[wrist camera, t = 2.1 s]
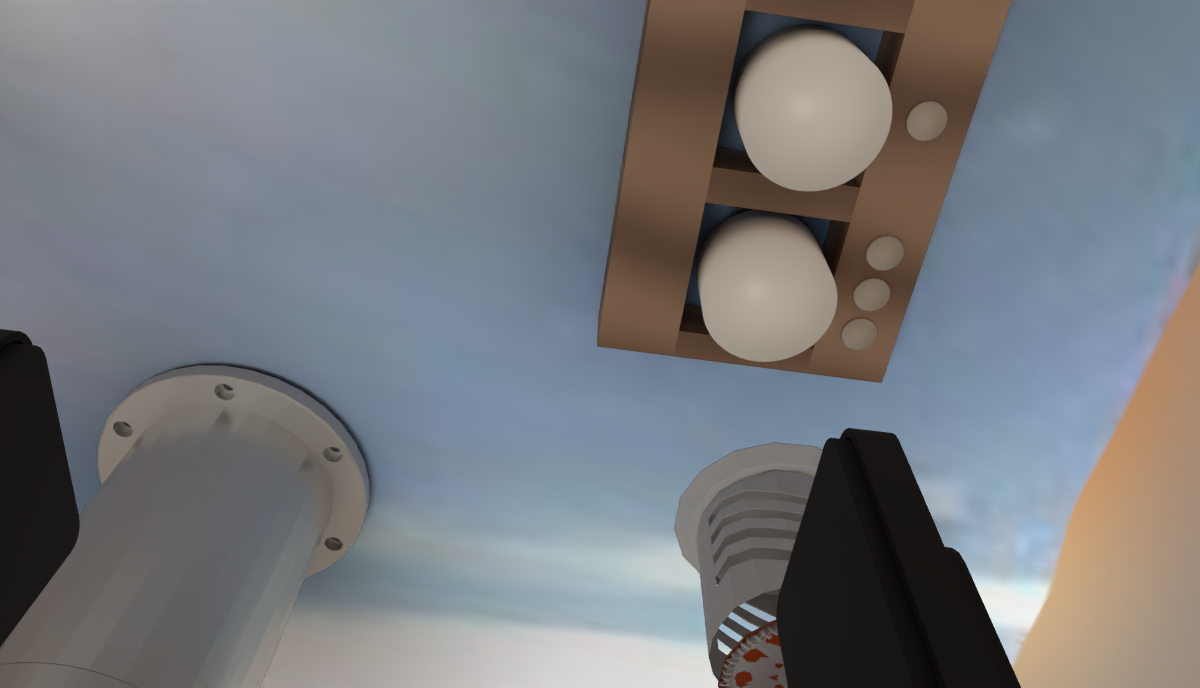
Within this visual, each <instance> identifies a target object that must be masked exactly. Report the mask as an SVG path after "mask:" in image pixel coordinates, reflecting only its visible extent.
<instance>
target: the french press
mask: <svg viewBox="0 0 1200 688" xmlns="http://www.w3.org/2000/svg"><path fill="white" fill-rule="evenodd" d="M822 451H823V450H821V449H819V448H817V447H812V446H803V445H794V444H785V443H776V442H775V443H770V444H765V445H760V446H756V447H751V448H746V449H741V450H737V451H734V452H732V453H730V454H729V455H727V456H725V457H724V458H722V459H720V460H719V461H717V462H715V463H713V464H712V465H710V466H708V467H707V468H705V469H703V470H702V471H701V472H700V473H699V474H698V476H697V477H696V478H695V479H694V481H693V482H692V483H691V485H690V486H689V487H688V488H687V490H686V491H685V492H684V494H683V495H682V496H681V498H680V502H679V506H678V511H677V516H676V521H675V526H674V529H675V532H676V535H677V539H678V542H679V545H680V548H681V551H682V555H683V556H684V557H685V559H686V560H687V561H688V562H689V563H690V564H691V565H692V566H693V567H694V568H695V569H696V570H697V571H698V572H699V573H700V578H701V588H702V597H703V607H704V616H705V626H706V635H707V645H708V654H709V659H710V663H711V667H712V671H713V674H714V675H715V677H716V678H717V680H718V681H719V682H718V687H719V688H788V685H787V679H786V674H785V668H784V663H783V657H782V652H781V646H780V641H779V636H778V630H777V623H776V620H774V621H772V622H770V623H769V622H767V621H765V620H763V619H760V618H759V617H757V616H755V615H753V614H751V613H750V612H748V611H746V610H744V609H743V608H741V607H739V605H741V604H743V603H746V604H748V605H751V606H753V607H755V608H757V609H759V610H761V611H763V612H765V613H768V614H770V615H772V616H774V617H776V610H777V601H778V596H779V593H780V589H781V586H782V583H783V579H784V576H785V573H786V570H787V566H788V563H789V560H790V556H791V553H792V550H793V546H794V543H795V540H796V537H797V533H798V530H799V527H800V523H801V520H802V517H803V514H804V510H805V507H806V504H807V500H808V497H809V494H810V490H811V487H812V484H813V481H814V477H815V474H816V471H817V467H818V464H819V461H820V458H821V454H822ZM717 585H718V586H717ZM731 612H733V613H735V614H736V615H738V616H739V617H741V618H742V619H744V620H746V621H747V622H749V623H751V624H753V625H755V626H757V627H759V628H758V629H756V630H754V631H752V632H751V631H750V630H748V629H746V628H744V627H743V626H741V625H740V624H738V623H737V622H735V621H733V620H732V619H730V618H729V617H728V615H729V614H730V613H731ZM722 623H723V624H724V625H725V626H727V627H728V628H730V629H731V630H733V631H734V632H736V633H738V634H739V635H741V636H742V637H743V638H742V640H741V641H740V642H737V641H735V640H734V639H732V638H731V637H729V636H728V635H726V634H725V633H724V632H722V631H721V630H720V629H718V628H719V626H720V625H721V624H722ZM717 639H719V640H720V641H721V642H723V643H724V644H725V645H727V646H728V647H729V648H731V649H732V651H731V652H730V653H729V654H728V655H726V654H724V653H723V652H722V651H720V650H719V649H718V642H717Z"/></svg>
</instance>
